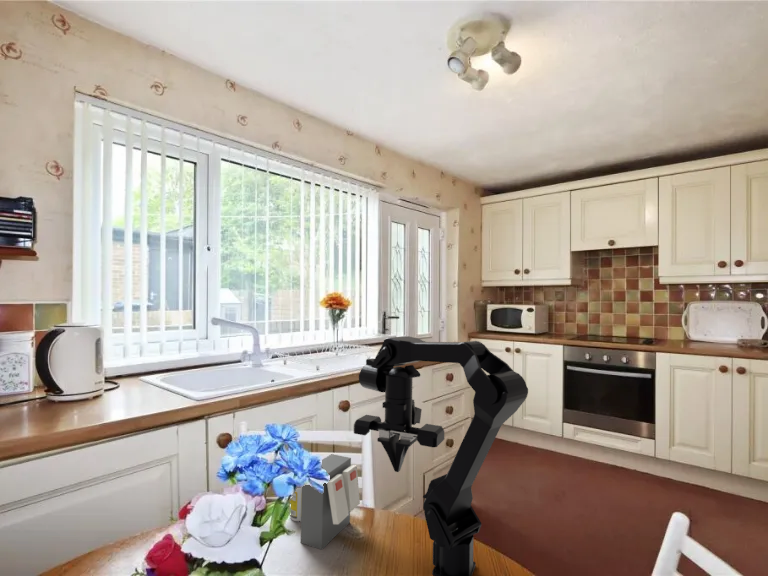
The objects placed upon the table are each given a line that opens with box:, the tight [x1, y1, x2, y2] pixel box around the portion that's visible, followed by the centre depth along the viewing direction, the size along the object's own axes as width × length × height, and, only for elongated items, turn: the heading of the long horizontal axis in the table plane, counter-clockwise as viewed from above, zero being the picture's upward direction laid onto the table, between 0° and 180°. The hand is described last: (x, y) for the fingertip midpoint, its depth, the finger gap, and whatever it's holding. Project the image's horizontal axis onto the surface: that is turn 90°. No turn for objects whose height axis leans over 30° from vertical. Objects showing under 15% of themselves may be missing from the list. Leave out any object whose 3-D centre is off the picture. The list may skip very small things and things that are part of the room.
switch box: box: [300, 453, 352, 550], centre depth 87 cm, size 5×11×14 cm, turn 155°
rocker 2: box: [343, 464, 361, 513], centre depth 87 cm, size 2×4×8 cm, turn 155°
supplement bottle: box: [289, 487, 302, 522], centre depth 93 cm, size 5×5×10 cm
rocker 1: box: [327, 474, 349, 524], centre depth 82 cm, size 2×4×8 cm, turn 155°
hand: (397, 471), depth 87 cm, fingers closed
